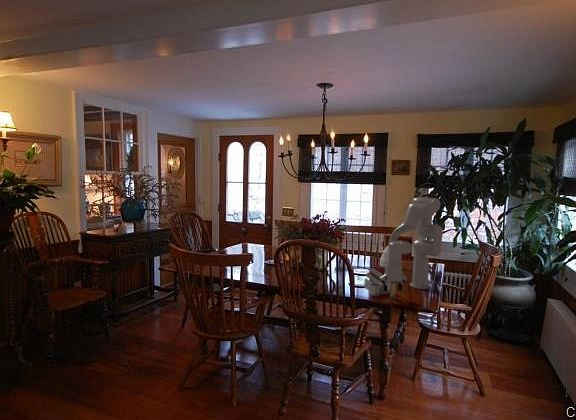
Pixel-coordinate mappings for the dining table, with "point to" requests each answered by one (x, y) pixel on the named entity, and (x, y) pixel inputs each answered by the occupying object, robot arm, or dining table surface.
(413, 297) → the dining table surface
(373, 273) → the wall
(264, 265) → the dining table surface
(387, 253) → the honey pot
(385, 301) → the dining table surface
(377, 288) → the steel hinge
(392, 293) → the brass pin
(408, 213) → the robot arm
